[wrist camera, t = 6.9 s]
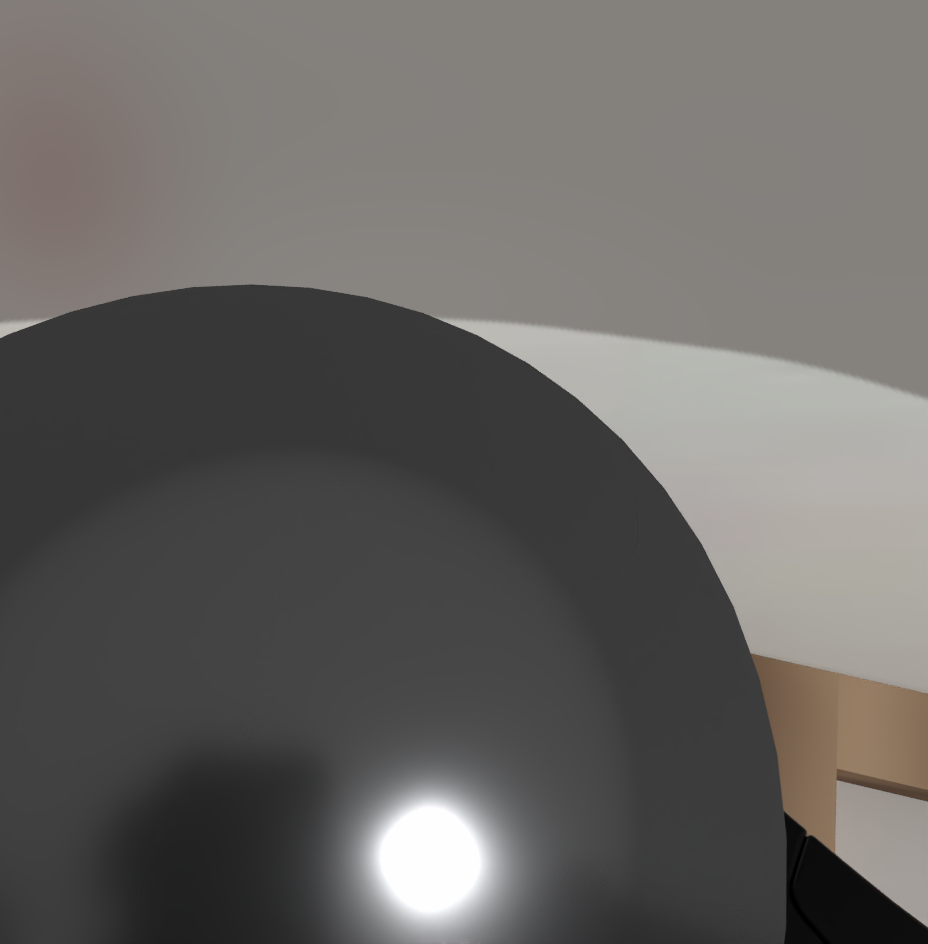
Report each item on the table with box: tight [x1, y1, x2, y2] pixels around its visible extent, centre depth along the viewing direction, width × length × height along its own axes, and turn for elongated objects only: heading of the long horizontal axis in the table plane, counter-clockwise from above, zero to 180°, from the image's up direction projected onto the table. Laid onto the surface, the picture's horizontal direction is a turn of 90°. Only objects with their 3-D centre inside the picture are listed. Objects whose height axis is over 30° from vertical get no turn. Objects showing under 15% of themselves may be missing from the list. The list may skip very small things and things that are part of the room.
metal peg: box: [0, 285, 787, 944], centre depth 9 cm, size 5×5×13 cm
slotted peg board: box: [751, 654, 928, 853], centre depth 18 cm, size 26×11×2 cm, turn 77°
